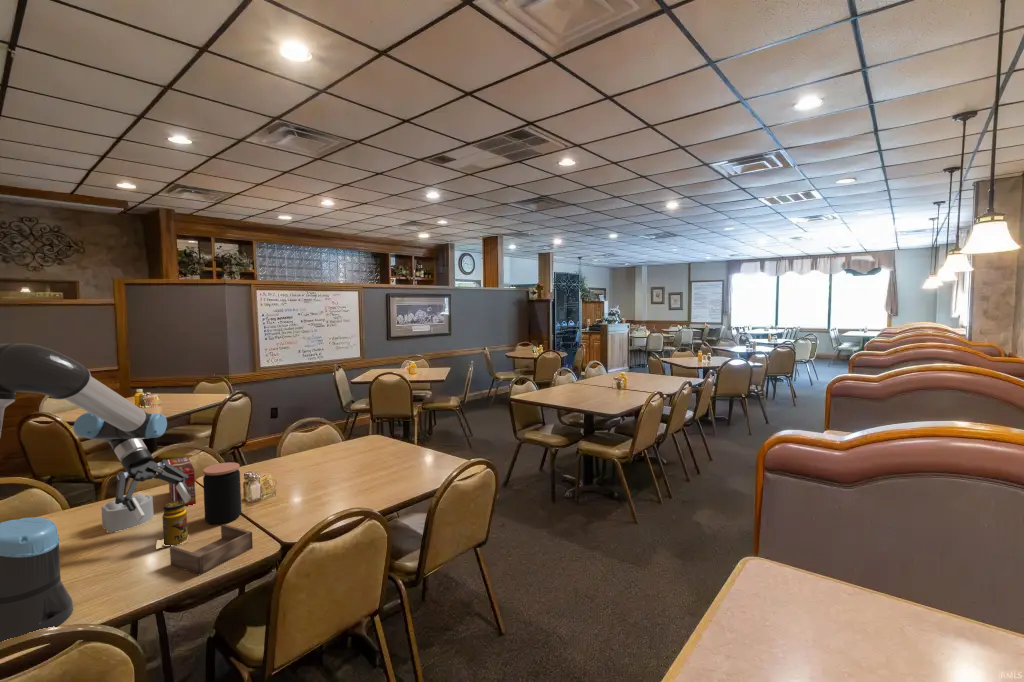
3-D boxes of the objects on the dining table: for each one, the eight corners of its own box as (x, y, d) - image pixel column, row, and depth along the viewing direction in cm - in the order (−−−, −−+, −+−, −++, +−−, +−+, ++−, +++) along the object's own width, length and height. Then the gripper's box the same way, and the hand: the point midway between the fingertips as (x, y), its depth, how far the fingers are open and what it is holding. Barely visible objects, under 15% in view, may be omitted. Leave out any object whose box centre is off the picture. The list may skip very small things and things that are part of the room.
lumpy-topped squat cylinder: (100, 526, 154) (98, 500, 153) (147, 512, 164) (146, 488, 164) (109, 534, 148) (108, 508, 147) (158, 520, 158) (157, 495, 158)
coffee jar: (234, 509, 167) (232, 460, 166) (246, 517, 160) (244, 466, 159) (200, 519, 159) (198, 468, 158) (211, 528, 152) (209, 475, 151)
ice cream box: (169, 492, 182) (167, 459, 181) (189, 488, 186) (187, 456, 185) (174, 509, 167) (172, 473, 166) (195, 504, 171) (194, 469, 170)
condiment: (188, 543, 143) (187, 505, 142) (154, 551, 138) (152, 512, 137) (189, 533, 149) (187, 497, 148) (156, 540, 144) (154, 503, 143)
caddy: (200, 575, 125) (199, 557, 125) (170, 564, 130) (169, 547, 130) (252, 548, 140) (252, 531, 139) (224, 539, 145) (223, 524, 144)
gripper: (170, 451, 163) (200, 500, 158) (82, 475, 140) (114, 532, 135) (179, 438, 160) (210, 487, 156) (91, 460, 138) (124, 518, 133)
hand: (165, 508), depth 146 cm, fingers open, 13 cm apart
